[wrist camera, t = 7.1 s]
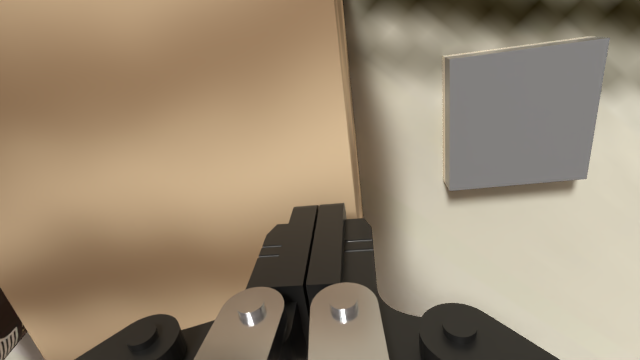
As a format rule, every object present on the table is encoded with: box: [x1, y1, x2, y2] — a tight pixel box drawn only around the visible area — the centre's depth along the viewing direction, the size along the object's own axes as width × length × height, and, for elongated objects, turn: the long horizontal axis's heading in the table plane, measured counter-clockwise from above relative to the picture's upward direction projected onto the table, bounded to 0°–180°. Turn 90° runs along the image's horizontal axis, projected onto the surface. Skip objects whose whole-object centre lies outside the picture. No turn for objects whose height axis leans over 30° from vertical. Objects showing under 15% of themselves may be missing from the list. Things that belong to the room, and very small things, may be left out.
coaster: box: [442, 36, 610, 191], centre depth 19 cm, size 7×7×2 cm
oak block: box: [0, 0, 363, 360], centre depth 17 cm, size 16×14×10 cm
